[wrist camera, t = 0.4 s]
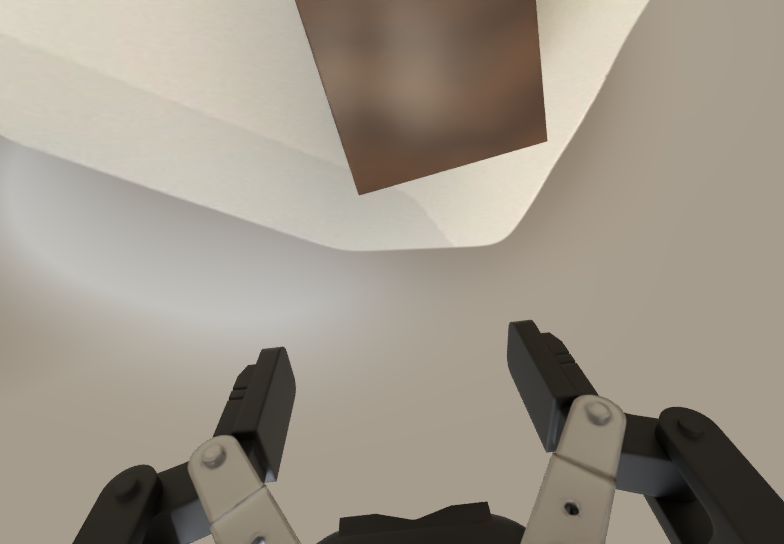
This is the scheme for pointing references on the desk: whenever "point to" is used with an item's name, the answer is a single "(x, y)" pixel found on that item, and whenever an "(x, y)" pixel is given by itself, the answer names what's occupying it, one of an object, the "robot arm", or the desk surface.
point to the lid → (427, 82)
